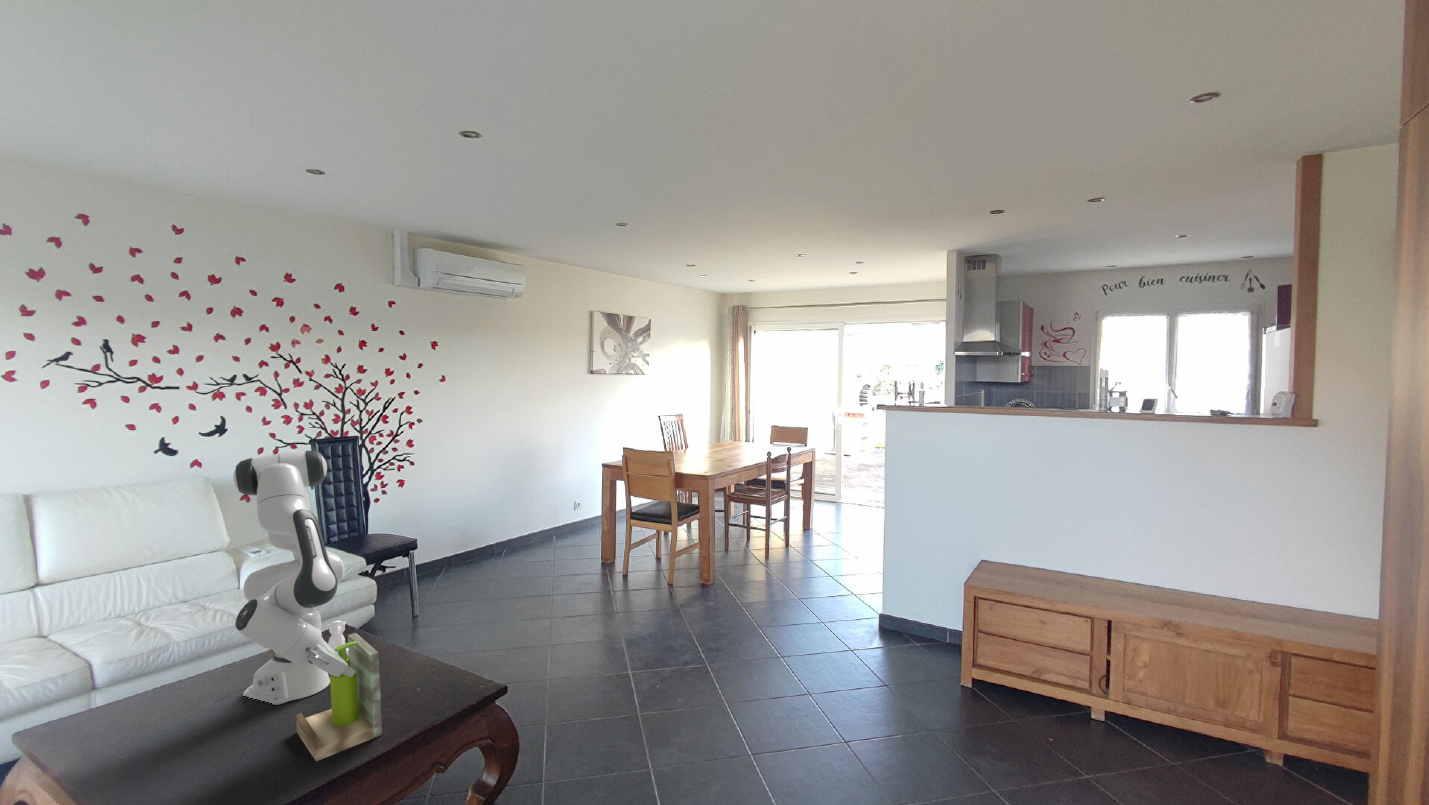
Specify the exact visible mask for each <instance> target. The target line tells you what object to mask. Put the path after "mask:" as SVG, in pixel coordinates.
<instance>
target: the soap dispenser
mask: <svg viewBox="0 0 1429 805" xmlns="http://www.w3.org/2000/svg"><path fill="white" fill-rule="evenodd" d="M357 644H358V642H348V641H347V642H345V644H343V645H341V646H339V647H337V648H335V651H337V652H338V655H339V656H340V657H341V658H342V659H343V660H344V661H345V662H346V663H347V664H348V666H349V667H350V657H349V656H346V649H347V648H349V647H351V646H354V645H357ZM351 668H353V669H354V670H355V671H356V668H354V667H351ZM329 678H330V684H329V686H330V701H331V702H330V703H331V709H332V724H333V726H336V727H342V726H346V725H349V724H352V723H353V722H355V721H356V720H357V719H358V700H357V679H356V672H355V673H354V675H353V676H352V677H349V676H347V675H345V674H341V675H340V676H339V677H335V676H333V675H331V674H329Z"/></svg>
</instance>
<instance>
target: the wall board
mask: <svg viewBox="0 0 1429 805" xmlns="http://www.w3.org/2000/svg"><path fill="white" fill-rule="evenodd" d="M348 642H358V644H357V645H354V646H351V647H349V648H348V649H349V657H350V667H354V668H356V679H357V700H358V719H357V720H356V721H355V722H353V723H352V724H349V725H346V726H342V727H336V726H333V724H332V708H330V709H327V710H324V711H322V712H318V713H315V714H312V715H310V716H308V717H305V715H303V713H302V712H300V713H298V714H295V722H296V724H295V725H296V733H297V735H298V734H299V735H298V737H299V738H300V740H301V741H302V742H303V744H304V746H305V747H306V749H307V750H308V752H309V753H310V754H311V756H312V757H313V759H314V761H315V762H319V761H320V760H323V759H326V758H328V757H331V756H333V755H336V754H338V753H341V752H343V751H345V750H348V749H351V748H353V747H356V746H358V745H360V744H361V745H362V743H366V742H368V741H370V740H373V739H375V738H378V737H381V736H382V735H383V726H382V701H381V700H382V699H381V698H382V696H381V680H380V678H381V677H380V660H379V659H380V658H379V656H380V655H379V652H378V651H377V650H376V649H375V648H374V647H373V646H372V645H371V644H370V643H368V642H367V641H366V640H365V639H364V638H362V637H361V635H359V634H358V633H357V632H354V633H353V632H352V633H350V634H347V643H348Z"/></svg>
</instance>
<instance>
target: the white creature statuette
mask: <svg viewBox="0 0 1429 805" xmlns="http://www.w3.org/2000/svg"><path fill="white" fill-rule="evenodd" d="M346 622H347V620H345V621H342V620H335V621H332V622H331V623H330V624H326V625H325V626H326V627H327V628H328V630H329V633H330V635H331V636H330V637H328V642H327V644H328V645H329V646H330V647H331V648H332V649H333V650H334V651H335V648H337V647H339V646H341V645H343V644H345V643H346V639H345V636H344V634H343V633H344V631H345V630H346V628H345V626H346ZM335 652H336V653H337V654H338V652H337V651H335ZM346 656H349V649H348V648H347V649H346Z"/></svg>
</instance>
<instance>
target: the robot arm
mask: <svg viewBox="0 0 1429 805" xmlns="http://www.w3.org/2000/svg"><path fill="white" fill-rule="evenodd" d="M327 464H328V463H327V461H326V458H324V456H323V454H322V453H321V452H319V451H317V450H305V451H290V452H280V453H277V454H275V453H274V454H269V455H264V456H259V457H256V458H253V457H251V458H246V459H243V460H240V461H239V462H238V463H237V464H236V466H235V469H234V472H233V477H232V478H233V482H234V486H235V487H236V488H237V490H238V492H239V493H241V494H242V495H245V496H256V511H257V512H256V513H257V518H258V523H259V525H260V527H261V528H262V529H263V530H265V531H266V532H267V535H268V541H269V543H270V544H271V546H273V547H274V548H277V549H279V550H280V549H281V550H284V551H289V552H291V553H292V556H293V558H294V559H292V560H289V561H286V562H281V563H277V564H272V565H269V566H265V567H262V568H261V569H258V570H256V571H253V572H251V573H249V575H248V576H247V578H245V580H244V584H243V595H244V598H245V599H246V601H247V602H246V603H245V605H244V606H243V607H242V608H241V610H240V611H239V612H238V614H237V616H236V619H235V626H234V627H235V629H236V630H237V631H238V633H239V634H240V635H241V636H243V637H244V638H245V639H247V640H249V641H251V642H253V643H254V644H255V645H257V646H259V647H262V648H265V649H269V653H268V654H272V653H273V655H272V657H271V658H270V659H269V660H268V661H267V662H266V663H264V664H263V665H262V666H261V667H259V668H258V669H257V670H256V671H255V673H254V675H253V679H252V684H251V685H250V686H248V687H247V688H246V689H245V690H244V691H243V694H242V697H243V696H247V697H249V698H248V699H250V698H253V699H252V700H254V699H258V700H261V701H260V702H262V701H265V702H264V703H266V702H269V703H268V704H270V703H272V704H271V705H275V706H278V705H281V704H285V703H288V702H291V701H295V700H301V699H304V698H306V697H309V696H312V695H316V694H317V693H319V692H321V691H322V690H324V689H326V688H327V687H328V686H330V674H331V675H333V676H335V677H339V676H340V675H341V674H345V675H347V676H349V677H352V676H353V675H354V673H355V672H356V671H355V670H354V669H353V668H351V667H349V666H348V664H347V663H346V662H345V661H344V660H343V659H342V658H341V657H340V656H339V655H338V654H337V653H336V652H335V651H334V650H333V649H332V648H331V647H330V646H329V645H328V642H327V641H325V640H324V636H323V635H322V619H321V618H322V616H321V614H320V612H319V610H317V609H316V608H318V607H319V606H323V605H325V604H327V603H329V602H331V601H332V600H333V598H334V597H335V595H336V593H337V590H338V585H339V584H340V583H341V582H342V581H343V578H344V576H345V572H346V566H345V563H344V560H342V558H341V557H340V556H339V555H338V554H336V553H334V552H331V551H329V550H327V549H326V546H325V544H326V543H325V542H324V541H325V540H324V538H323V533H322V531H321V530H322V529H321V527H320V526H321V525H320V523H319V520H318V518H317V517H316V516H317V515H315V513H313V512H312V510H311V502H310V500H309V499H310V498H309V495H308V492H307V488H306V487H310V489H311V491H312V490H313V491H314V489H315V487H317V486H319V485H320V484H322V483H323V482H324V480H325V479H326V476H327V472H328V465H327ZM258 700H257V701H258Z"/></svg>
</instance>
